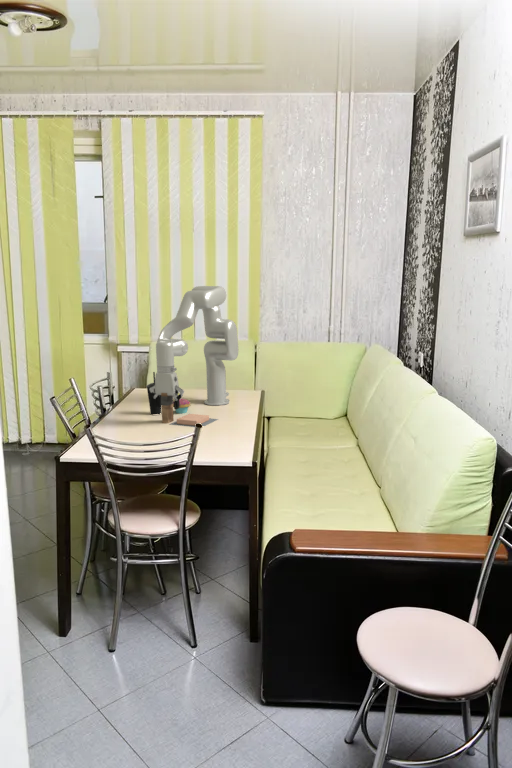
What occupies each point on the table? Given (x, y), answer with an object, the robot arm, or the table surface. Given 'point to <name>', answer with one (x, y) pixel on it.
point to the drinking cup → (152, 400)
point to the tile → (192, 419)
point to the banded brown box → (167, 408)
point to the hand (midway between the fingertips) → (167, 408)
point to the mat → (194, 426)
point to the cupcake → (182, 406)
